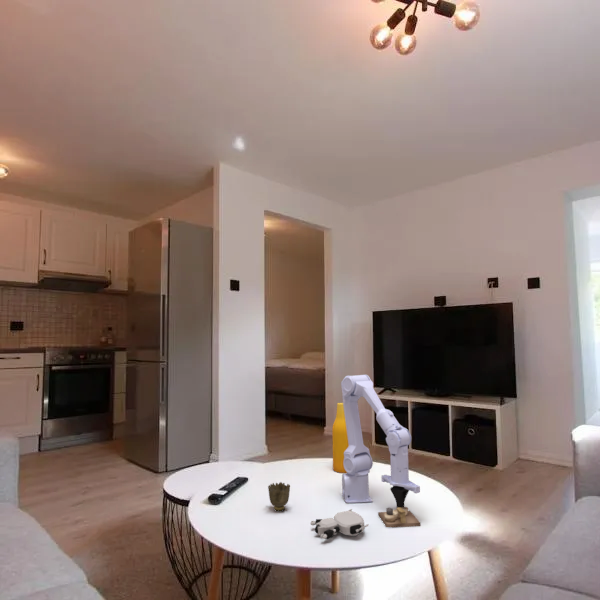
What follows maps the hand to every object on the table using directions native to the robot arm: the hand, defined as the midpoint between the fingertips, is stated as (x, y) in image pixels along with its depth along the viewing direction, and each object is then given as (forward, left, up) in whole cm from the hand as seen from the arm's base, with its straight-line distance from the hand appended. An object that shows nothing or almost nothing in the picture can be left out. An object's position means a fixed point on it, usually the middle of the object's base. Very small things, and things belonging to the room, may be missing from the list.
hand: (400, 509), depth 138 cm
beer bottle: (-9, +51, -2) cm, 52 cm away
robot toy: (-22, -10, -2) cm, 25 cm away
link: (-2, -4, -1) cm, 4 cm away
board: (-2, -4, -2) cm, 4 cm away
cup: (-39, +9, -2) cm, 40 cm away
